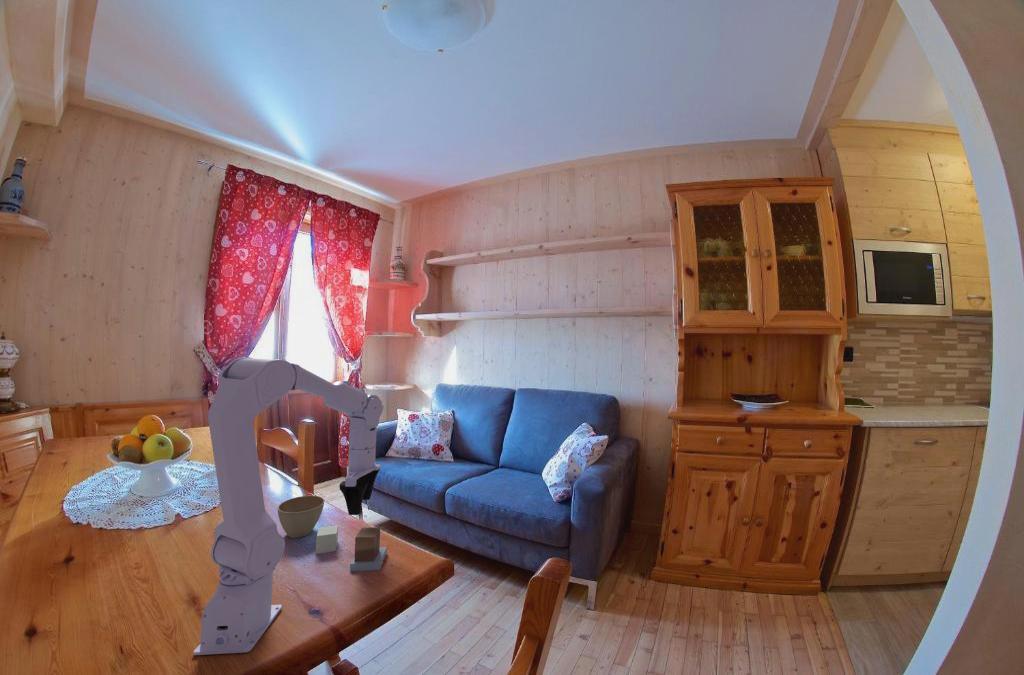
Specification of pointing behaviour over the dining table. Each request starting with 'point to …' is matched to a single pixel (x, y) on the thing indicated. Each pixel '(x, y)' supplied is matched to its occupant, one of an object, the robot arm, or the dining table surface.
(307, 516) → the flower pot
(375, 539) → the walnut block
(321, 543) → the sage block
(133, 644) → the dining table surface
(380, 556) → the slate slab
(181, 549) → the dining table surface
